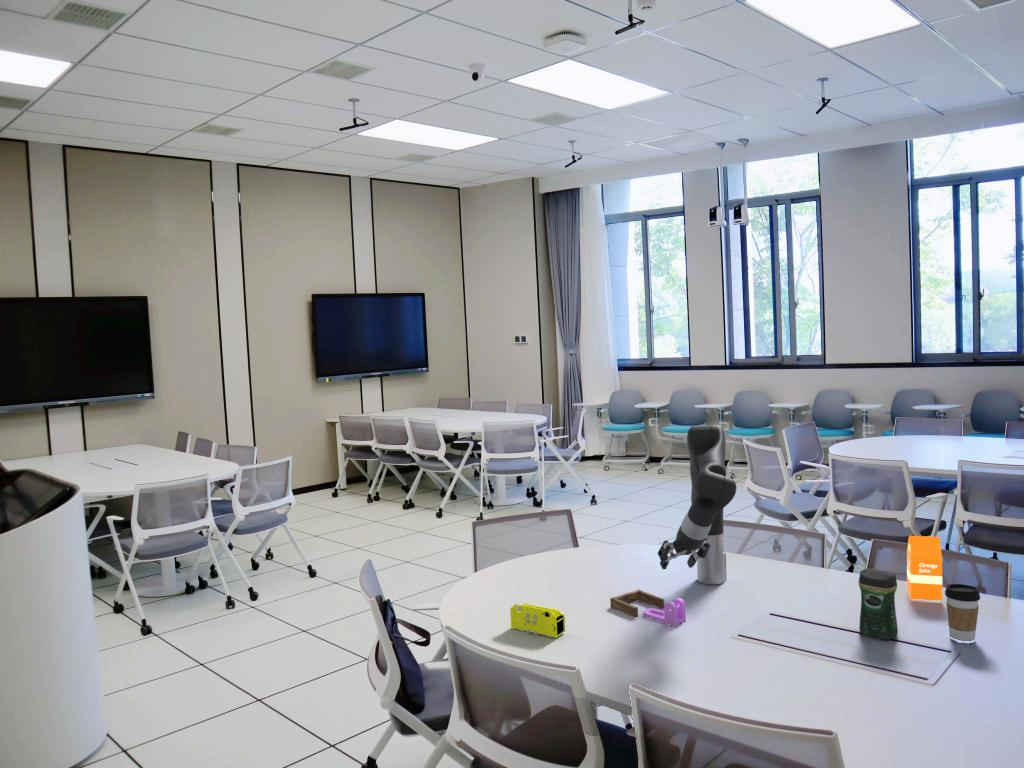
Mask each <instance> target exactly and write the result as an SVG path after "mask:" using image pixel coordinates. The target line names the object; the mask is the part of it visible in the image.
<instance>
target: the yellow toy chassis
mask: <svg viewBox="0 0 1024 768" xmlns="http://www.w3.org/2000/svg"><path fill="white" fill-rule="evenodd" d="M509 609H510V628H511V629H516V630H518V631H520V630H522V631H521V632H526V634H527V635H528V634H531V633H533V635H534V636H538V634H539V635H542V636H546V637H548V638H558V637H560V636H561V635H563V633H565V632H566V617H565V616H566V615H565V614H564V613H563V612H562V611H560V610H559V609H555V608H550V607H546V606H545V607H544V606H540V605H535V604H530V603H529V604H528V603H522V604H517V603H516V604H514V605H513V606H511V607H510V608H509Z"/></svg>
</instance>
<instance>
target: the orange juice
mask: <svg viewBox="0 0 1024 768" xmlns="http://www.w3.org/2000/svg"><path fill="white" fill-rule="evenodd" d="M940 539H941V538H940V536H927V535H926V536H923V535H909V536H908V541H907V549H906V592H907V591H908V593H909V595H910V598H911V599H922V600H923V599H925V600H942V601H943V555H942V547H941V540H940ZM910 598H909V599H910Z"/></svg>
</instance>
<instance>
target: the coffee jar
mask: <svg viewBox="0 0 1024 768" xmlns="http://www.w3.org/2000/svg"><path fill="white" fill-rule="evenodd" d="M897 581H898V580H897V575H896V573H895V572H892V571H886V570H879V569H873V568H869V567H865V568H864V569H862V570H861V571H860V572H859V578H858V587H859V588H860V595H861V597H860V598H861V599H860V601H861V602H860V603H861V604H860V614H859V624H858V625H859V627H858V629H859V633H860V634H861V635H863V634H864V635H863V636H866V635H867V636H866V637H869V636H871V637H870V638H874V639H878V638H879V639H878V640H883V639H884V640H886V641H889V640H893V639H896V637H897V636H898V634H899V633H898V632H899V629H898V620H897V619H898V618H897V611H896V603H895V602H896V601H895V595H896V591H897V589H898V582H897Z"/></svg>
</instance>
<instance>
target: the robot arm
mask: <svg viewBox="0 0 1024 768" xmlns="http://www.w3.org/2000/svg"><path fill="white" fill-rule="evenodd" d="M725 433H726V432H725V431H724V428H723V426H721V425H720V424H714V423H713V424H712V423H711V424H701V425H700V424H698V425H692V426H691V427H690V428H688V430H687V433H686V434H687V435H686V441H687V448H688V455H689V462H690V464H689V466H690V467H689V472H690V475H689V476H690V481H691V493H690V495H691V496H690V501H691V505H690V507H689V509H688V511H687V513H686V514H685V516H684V517H683V519H682V521H681V524H680V526H679V528H678V530H677V532H676V535H675V537H676V538H675V540H674V541H673V542H669V541H668V540H666V539H665V540H664V541H663V542H662V544H661V546H660V547H659V549H658V552H657V555H658V558H659V559H660V562H659V564H660V565H659V566H660V567H661V569H662V570H666V569H667V568H668V565H669V563H670V561H671V560H673V559H677V558H678V557H681V556H689V558H688V559H687V562H686V563H687V566H688V568H690V569H691V568H694V566H695V565H696V572H697V574H696V575H697V576H696V577H697V582H699V583H701V584H704V585H721V584H723V583H725V581H726V580H728V579H727V553H726V552H725V539H724V538H725V535H724V534H725V533H724V531H725V530H724V529H725V528H724V508H726V507H727V506H728V505H729V504H730V503H731V502H732V500H733V499H734V498H735V496H736V492H737V483H736V481H735V480H734V479H732V478H731V477H729V476H727V469H726V465H725V464H726V463H725V459H726V449H727V448H726V445H727V444H726V443H727V442H726V434H725ZM674 551H675V552H676V553H675V552H674Z"/></svg>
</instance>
